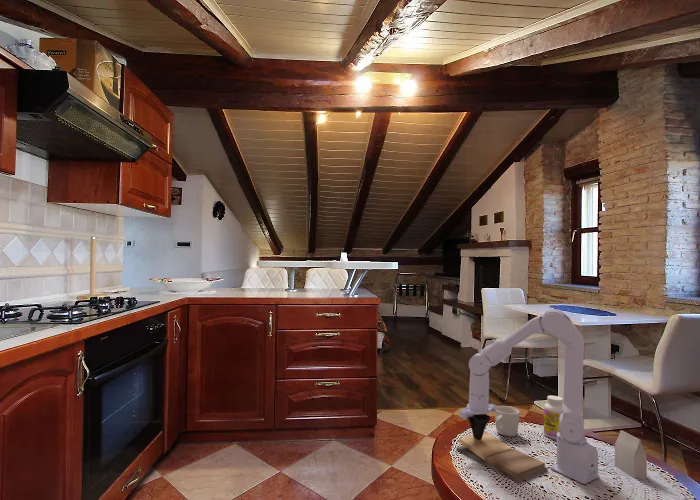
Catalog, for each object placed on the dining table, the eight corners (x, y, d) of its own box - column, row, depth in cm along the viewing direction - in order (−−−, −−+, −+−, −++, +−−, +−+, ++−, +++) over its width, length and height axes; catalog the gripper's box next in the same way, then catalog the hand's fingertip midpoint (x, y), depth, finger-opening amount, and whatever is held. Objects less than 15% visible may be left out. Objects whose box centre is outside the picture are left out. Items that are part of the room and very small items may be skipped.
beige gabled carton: (634, 478, 105) (633, 440, 106) (614, 465, 112) (614, 430, 113) (646, 478, 106) (646, 440, 106) (626, 465, 113) (626, 430, 113)
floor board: (547, 470, 108) (547, 463, 108) (518, 483, 101) (518, 475, 101) (485, 441, 126) (485, 435, 126) (456, 450, 119) (456, 443, 119)
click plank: (511, 451, 117) (511, 448, 117) (485, 460, 111) (485, 456, 111) (484, 434, 125) (485, 431, 125) (459, 442, 119) (459, 438, 119)
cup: (508, 443, 125) (509, 417, 126) (485, 435, 131) (485, 410, 132) (523, 434, 132) (523, 410, 133) (501, 427, 138) (501, 404, 139)
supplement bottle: (539, 433, 134) (539, 395, 134) (554, 431, 136) (554, 393, 136) (554, 441, 127) (555, 401, 128) (570, 439, 129) (570, 400, 130)
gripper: (484, 386, 128) (482, 429, 128) (452, 392, 121) (450, 437, 120) (502, 393, 122) (501, 437, 122) (470, 399, 115) (468, 447, 114)
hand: (477, 438), depth 120 cm, fingers closed, pressing on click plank
